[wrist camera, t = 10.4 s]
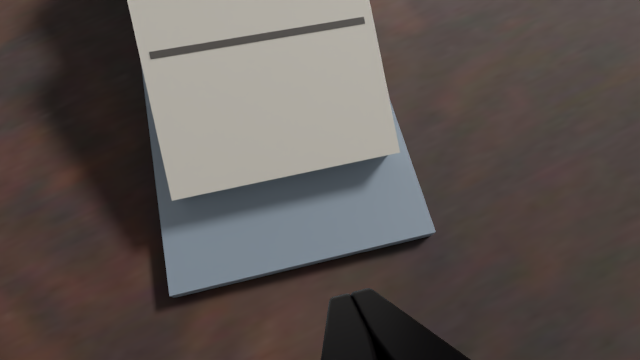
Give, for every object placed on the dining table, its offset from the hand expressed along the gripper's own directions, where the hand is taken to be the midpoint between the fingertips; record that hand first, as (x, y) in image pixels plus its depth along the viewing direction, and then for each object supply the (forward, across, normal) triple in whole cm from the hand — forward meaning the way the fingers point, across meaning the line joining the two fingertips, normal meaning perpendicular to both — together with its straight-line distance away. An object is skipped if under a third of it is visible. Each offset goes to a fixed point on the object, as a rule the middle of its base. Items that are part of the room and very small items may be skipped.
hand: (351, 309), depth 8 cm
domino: (+11, 0, +2) cm, 11 cm away
